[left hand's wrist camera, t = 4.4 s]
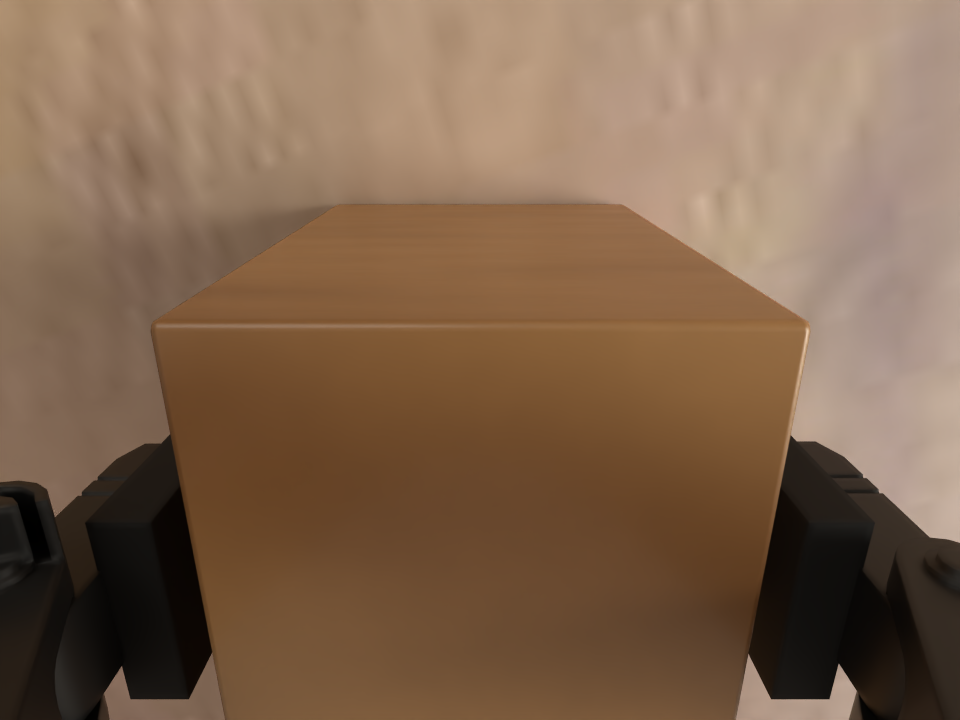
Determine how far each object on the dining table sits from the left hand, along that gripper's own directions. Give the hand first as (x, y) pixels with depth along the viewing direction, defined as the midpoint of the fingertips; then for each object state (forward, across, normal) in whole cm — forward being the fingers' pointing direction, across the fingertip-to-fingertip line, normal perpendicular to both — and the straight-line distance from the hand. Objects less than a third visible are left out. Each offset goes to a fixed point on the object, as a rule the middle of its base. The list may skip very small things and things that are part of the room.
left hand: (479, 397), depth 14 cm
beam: (+1, 0, -29) cm, 29 cm away
